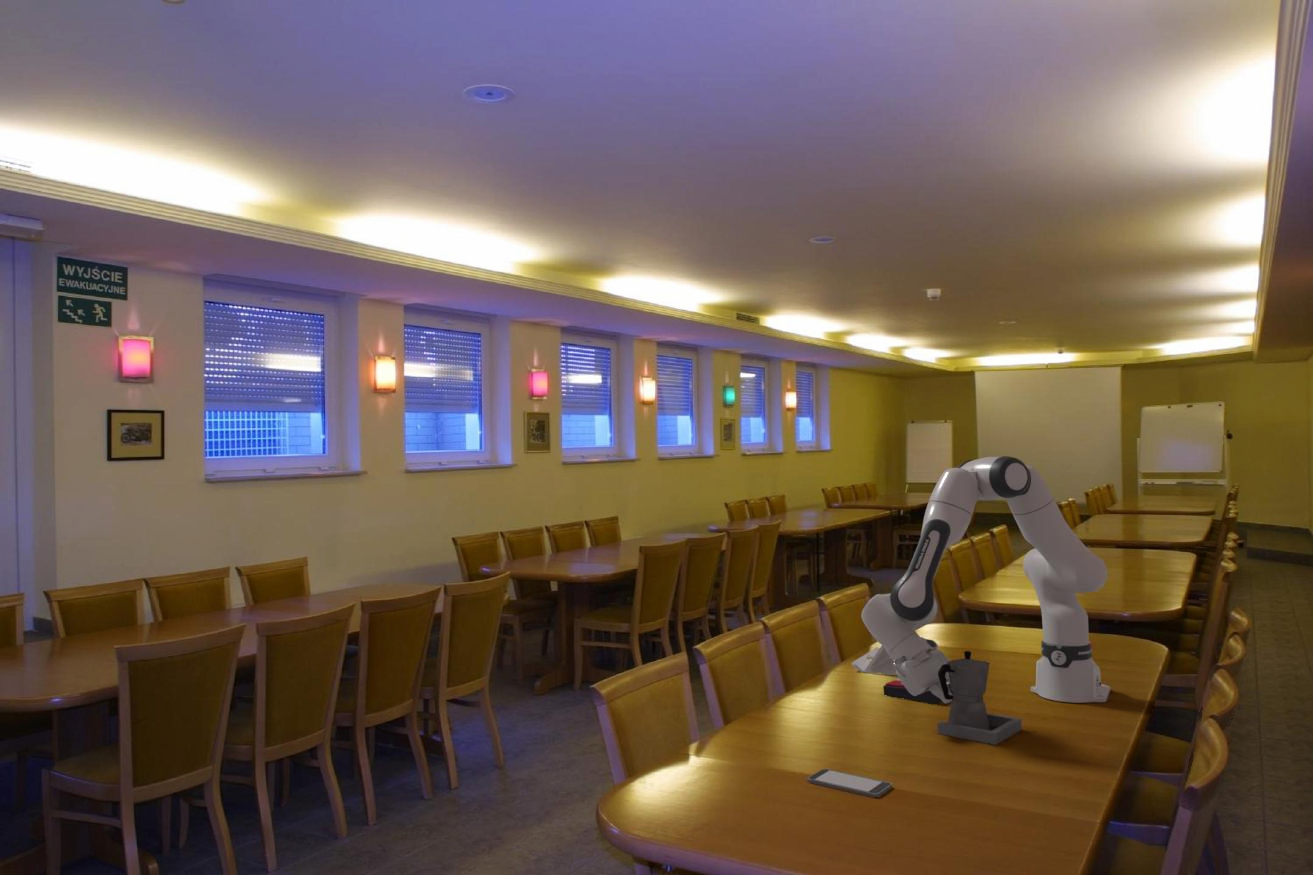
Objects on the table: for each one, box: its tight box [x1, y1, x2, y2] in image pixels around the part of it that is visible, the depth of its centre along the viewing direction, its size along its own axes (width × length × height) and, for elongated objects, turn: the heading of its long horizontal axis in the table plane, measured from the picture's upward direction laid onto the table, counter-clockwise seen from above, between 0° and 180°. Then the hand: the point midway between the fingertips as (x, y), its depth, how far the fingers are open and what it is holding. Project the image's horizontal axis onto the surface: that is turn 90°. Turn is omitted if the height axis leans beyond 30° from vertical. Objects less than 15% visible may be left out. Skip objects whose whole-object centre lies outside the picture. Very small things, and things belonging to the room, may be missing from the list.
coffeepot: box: [938, 650, 991, 730], centre depth 211 cm, size 15×9×18 cm, turn 115°
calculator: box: [883, 677, 953, 705], centre depth 242 cm, size 11×4×15 cm
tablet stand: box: [851, 645, 897, 676], centre depth 277 cm, size 18×25×17 cm
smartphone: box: [807, 768, 893, 798], centre depth 176 cm, size 7×1×15 cm
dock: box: [937, 712, 1023, 746], centre depth 209 cm, size 15×14×2 cm
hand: (950, 700), depth 214 cm, fingers closed
